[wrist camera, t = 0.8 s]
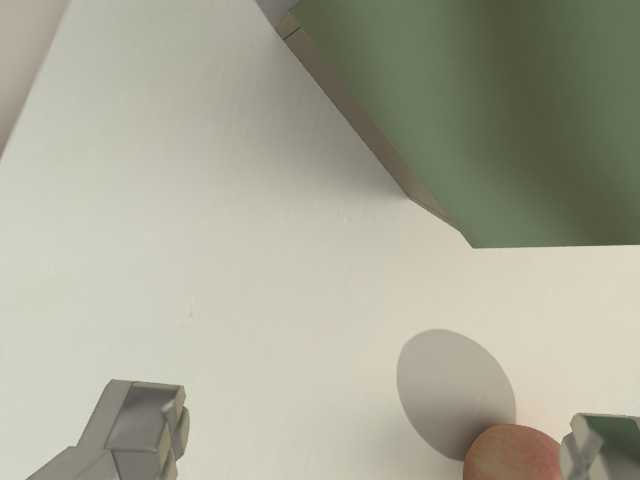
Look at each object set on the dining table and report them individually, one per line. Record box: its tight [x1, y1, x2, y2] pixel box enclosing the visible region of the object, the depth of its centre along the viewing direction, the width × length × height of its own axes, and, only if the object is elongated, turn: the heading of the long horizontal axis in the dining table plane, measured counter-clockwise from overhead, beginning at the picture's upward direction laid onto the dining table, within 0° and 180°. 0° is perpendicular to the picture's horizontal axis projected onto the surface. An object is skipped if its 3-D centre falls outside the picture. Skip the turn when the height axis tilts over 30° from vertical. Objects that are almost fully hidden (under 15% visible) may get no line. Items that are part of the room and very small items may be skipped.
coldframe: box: [275, 13, 459, 231], centre depth 29 cm, size 16×14×10 cm
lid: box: [289, 0, 640, 249], centre depth 17 cm, size 17×14×1 cm
